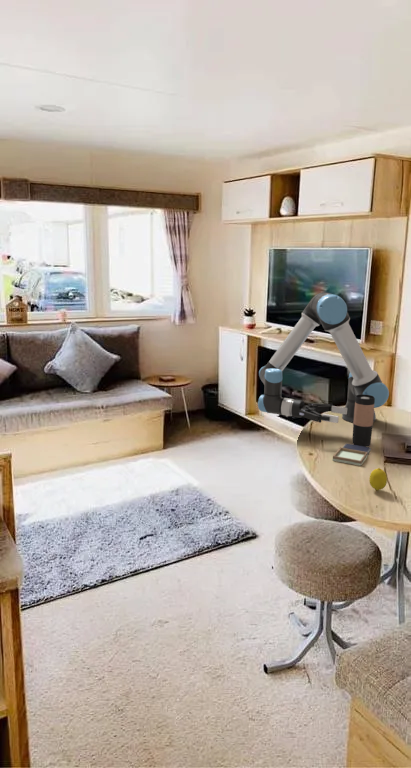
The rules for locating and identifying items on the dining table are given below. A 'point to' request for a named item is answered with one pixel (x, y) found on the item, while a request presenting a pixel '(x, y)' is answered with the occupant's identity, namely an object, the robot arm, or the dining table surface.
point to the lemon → (378, 479)
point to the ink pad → (357, 448)
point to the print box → (350, 456)
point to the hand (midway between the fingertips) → (342, 415)
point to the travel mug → (363, 420)
